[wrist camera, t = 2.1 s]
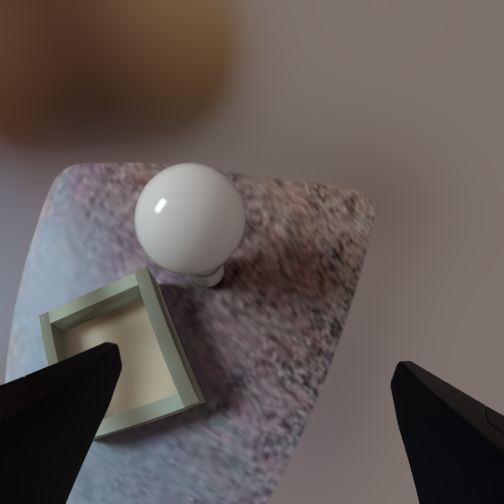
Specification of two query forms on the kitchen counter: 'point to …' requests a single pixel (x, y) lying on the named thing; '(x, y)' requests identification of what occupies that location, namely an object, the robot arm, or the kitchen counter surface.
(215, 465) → the kitchen counter surface
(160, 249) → the lightbulb
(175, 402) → the open box
